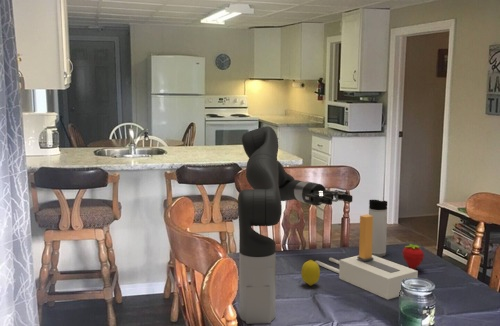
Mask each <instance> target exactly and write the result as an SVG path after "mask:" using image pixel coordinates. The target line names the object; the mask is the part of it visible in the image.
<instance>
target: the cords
mask: <svg viewBox="0 0 500 326" xmlns="http://www.w3.org/2000/svg"><path fill="white" fill-rule="evenodd" d="M328 261H330V262H332V263H334V264H336V265H339V264H340V259H339V260H338V259H336V258H333V257H329V258H328ZM314 262H316V263H317V264H318V266H319V267H323V268H325V269H328V270H329V271H332V272H334V273H337V274H339V268H337V267H334V266H332V265H329V264H326V263H324V262H321V261H320V260H315V261H314Z"/></svg>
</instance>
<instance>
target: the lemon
mask: <svg viewBox="0 0 500 326" xmlns="http://www.w3.org/2000/svg"><path fill="white" fill-rule="evenodd" d="M320 276H321V269H320V265H318V264H317V263H316V262H315V261H314V260H312V259H309V260H308V261H306V262H304V263H303V265H302V267H301V278H302V280H303V282H304V283H306V284H308V286H310V287H311V286H313V285H314V284H317V283H318V282H319V279H320V278H321V277H320Z"/></svg>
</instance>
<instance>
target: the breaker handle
mask: <svg viewBox="0 0 500 326" xmlns="http://www.w3.org/2000/svg"><path fill="white" fill-rule="evenodd" d="M372 235H373V216H371V215H369V214H363V215H360V216H359V240H358V241H359V242H358V243H359V244H358V245H359V249H358V250H359V251H358V255H359V256H358V255H357V256H358V257H357V258H358V259H360V260H363V261H370V260H373V257H372Z"/></svg>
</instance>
